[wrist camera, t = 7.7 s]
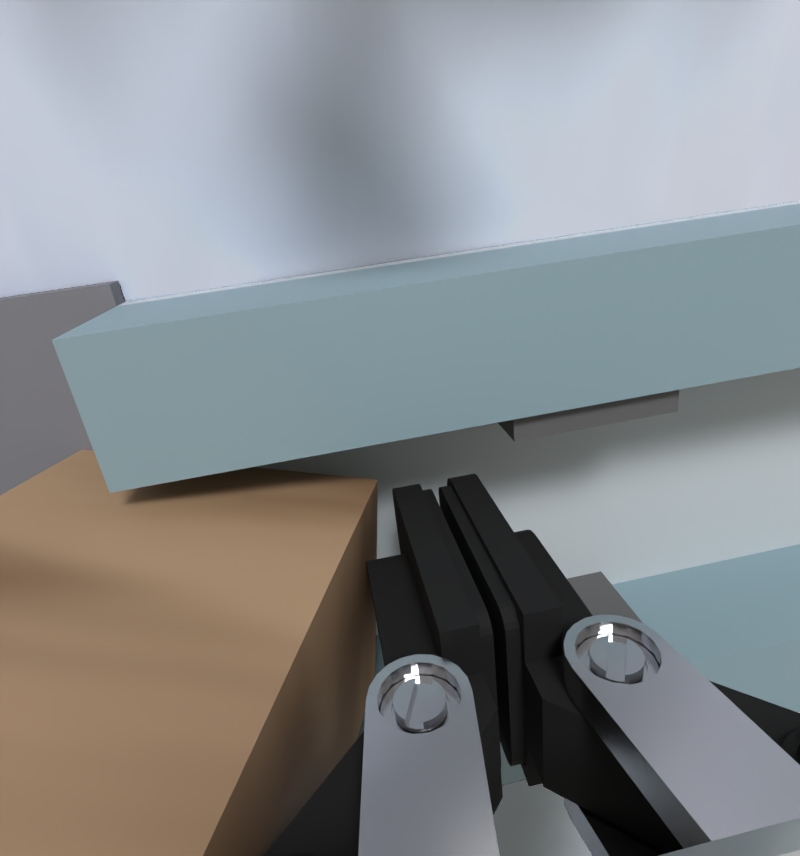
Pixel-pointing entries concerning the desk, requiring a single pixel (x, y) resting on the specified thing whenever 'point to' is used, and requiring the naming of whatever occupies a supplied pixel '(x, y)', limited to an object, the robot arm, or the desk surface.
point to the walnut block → (178, 656)
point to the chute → (514, 410)
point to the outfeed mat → (42, 378)
